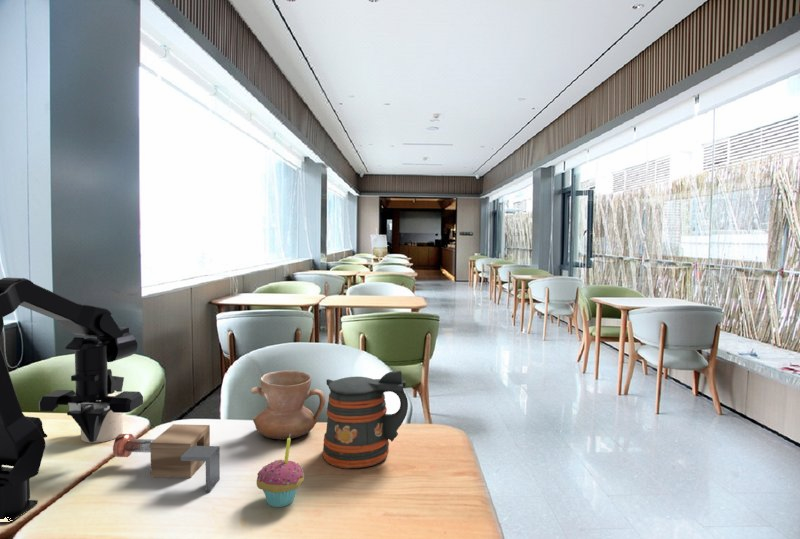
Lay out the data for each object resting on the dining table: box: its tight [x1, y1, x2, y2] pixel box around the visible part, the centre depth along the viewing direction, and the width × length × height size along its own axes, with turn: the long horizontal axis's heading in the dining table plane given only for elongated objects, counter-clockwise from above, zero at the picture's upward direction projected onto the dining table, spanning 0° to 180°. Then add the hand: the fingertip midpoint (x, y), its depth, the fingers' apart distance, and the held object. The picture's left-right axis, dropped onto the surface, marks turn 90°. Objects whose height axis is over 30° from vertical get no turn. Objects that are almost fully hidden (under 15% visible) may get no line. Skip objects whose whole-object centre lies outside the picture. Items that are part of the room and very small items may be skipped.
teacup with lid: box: [80, 392, 124, 444], centre depth 122 cm, size 12×9×12 cm
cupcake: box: [256, 434, 305, 508], centre depth 93 cm, size 9×8×12 cm
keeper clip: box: [181, 445, 221, 493], centre depth 99 cm, size 5×6×7 cm
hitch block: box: [150, 423, 211, 479], centre depth 107 cm, size 10×8×7 cm
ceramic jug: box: [250, 370, 326, 440], centre depth 125 cm, size 18×14×14 cm
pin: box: [112, 433, 155, 458], centre depth 107 cm, size 5×14×5 cm, turn 89°
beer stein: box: [322, 369, 409, 470], centre depth 113 cm, size 19×15×20 cm
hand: (93, 441), depth 107 cm, fingers closed
